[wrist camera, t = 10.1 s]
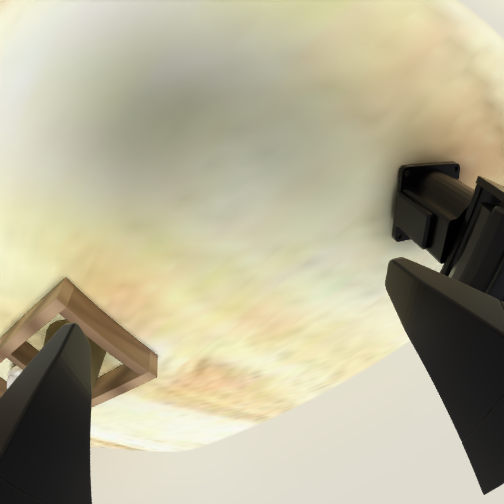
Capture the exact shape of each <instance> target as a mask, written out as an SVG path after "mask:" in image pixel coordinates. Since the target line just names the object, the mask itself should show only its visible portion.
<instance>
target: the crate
mask: <svg viewBox="0 0 504 504" xmlns="http://www.w3.org/2000/svg"><path fill="white" fill-rule="evenodd" d="M59 313H60V314H61V315H62V316H63V317H64V318H65V319H67V320H68V321H69V322H70V323H77V324H78V325H79V326H80V328H81V329H82V331H83V333H84V334H85V335H86V336H87V337H89V338H90V339H91V340H92V341H94V342H95V343H96V344H98V345H99V346H100V347H101V348H103V349H104V350H105V351H107V352H108V353H109V354H111V355H112V356H114V357H115V358H116V359H118V360H119V361H120V362H122V363H123V365H122V366H120V367H118V368H116V369H114V370H112V371H110V372H108V373H107V374H105V375H103V376H101V377H99V378H97V380H96V383H95V386H94V389H93V392H92V403H91V407H94V406H96V405H98V404H101V403H103V402H105V401H107V400H109V399H112V398H114V397H116V396H118V395H120V394H123V393H125V392H127V391H129V390H131V389H133V388H136V387H138V386H140V385H142V384H144V383H146V382H148V381H150V380H152V379H154V378H157V358H158V356H157V355H156V354H155V353H153V352H152V351H151V350H149V349H148V348H147V347H146V346H144V345H143V344H142V343H140V342H139V341H138V340H137V339H135V338H134V337H133V336H132V335H130V334H129V333H128V332H127V331H125V330H124V329H123V328H122V327H121V326H119V325H118V324H117V323H116V322H115V321H113V320H112V319H111V318H110V317H109V316H107V315H106V314H105V313H104V312H103V311H102V310H101V309H99V308H98V307H97V306H96V305H95V304H94V303H93V302H91V301H90V300H89V299H88V298H87V297H86V296H85V295H84V294H83V293H82V292H80V291H79V290H78V289H77V288H76V287H75V286H74V285H73V284H72V283H71V282H70V281H69V280H68V279H67V278H65V279H64V280H63V281H61V282H60V283H59V284H58V285H57V286H56V287H55V288H53V289H52V290H51V291H50V292H49V293H48V294H47V295H46V296H45V297H43V298H42V299H41V300H40V301H39V302H38V303H37V304H36V305H35V306H34V307H33V308H32V309H30V310H29V311H28V312H27V313H26V314H25V315H24V316H23V317H22V318H21V319H20V320H19V321H18V322H17V323H16V324H15V325H14V326H13V327H12V328H11V329H10V330H9V331H8V332H7V333H6V334H5V335H4V336H3V337H2V338H1V339H0V363H1V362H2V361H3V360H4V359H5V358H8V359H9V360H10V361H11V362H13V363H14V364H15V365H17V366H18V367H19V368H21V369H22V370H24V368H25V367H26V366H27V365H28V364H29V363H30V361H31V360H32V359H33V358H34V357H35V356H36V355H37V353H38V352H39V351H37V350H36V349H35V348H33V347H32V346H31V345H30V344H28V343H27V342H26V340H27V339H29V338H30V337H31V336H32V335H33V334H35V333H36V332H37V331H38V330H39V329H41V328H42V327H43V326H44V325H45V324H47V323H48V322H49V321H50V320H51V319H53V318H54V317H55V316H56V315H58V314H59ZM6 390H7V382H6V381H4V380H3V379H2V378H0V398H1V396H2V395H3V394H4V393H5V391H6Z"/></svg>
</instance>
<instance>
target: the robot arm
mask: <svg viewBox="0 0 504 504" xmlns="http://www.w3.org/2000/svg"><path fill="white" fill-rule="evenodd" d="M454 168H455V169H454ZM406 170H407V172H406V174H405V171H406ZM459 171H460V166H459V164H458V163H456V162H443V163H428V164H414V165H404V166H402V167H401V168H400V170H399V180H398V191H397V198H396V208H395V217H394V228H393V239H394V240H395V241H397V242H400V241H404V240H409V239H412V240H413V241H414V242H415V243H416V244H417V245H418V246H419V247H421V248H422V249H423V250H424V249H426V250H427V251H428V252H429V253H430V254H431V255H432V256H433V257H434V258H435V259H436V260H437V261H438V262H439V263H441V264H443V263H444V265H443V267H442V269H441V271H440V273H439V272H436V271H434V270H432V269H429V268H427V267H425V266H422V265H420V264H418V263H415V262H413V261H411V260H408V259H406V258H403V257H399V258H395V259H392V260H390V261H389V263H388V269H387V275H386V281H385V286H386V290H387V292H388V294H389V296H390V299H391V301H392V303H393V305H394V307H395V310H396V312H397V314H398V316H399V319H400V321H401V323H402V325H403V327H404V329H405V331H406V333H407V335H408V337H409V339H410V341H411V342H412V344H413V345H414V348H415V350H416V351H417V353H418V355H419V357H420V358H421V360H422V362H423V364H424V366H425V368H426V370H427V372H428V374H429V375H430V377H431V379H432V381H433V383H434V385H435V387H436V389H437V391H438V393H439V395H440V397H441V399H442V401H443V403H444V405H445V407H446V409H447V411H448V413H449V415H450V417H451V419H452V422H453V424H454V426H455V428H456V430H457V432H458V435H459V437H460V439H461V441H462V444H463V446H464V449H465V451H466V453H467V455H468V458H469V460H470V463H471V465H472V467H473V470H474V472H475V475H476V477H477V479H478V482H479V485H480V487H481V490H482V492H483V494H484V495H485V494H487V493H489V492H490V491H492V490H494V489H495V488H497V487H499V486H500V485H502V484H503V483H504V186H502V185H499V184H497V183H495V182H492V181H490V180H488V179H485V178H483V177H481V176H478V178H477V181H476V183H477V185H476V188H475V190H473V189H472V188H470V187H469V186H467V185H465V184H464V183H462V182H460V181H458V179H459ZM399 234H400V235H399ZM398 235H399V236H398ZM91 403H92V383H91V346H90V343H89V341H88V339H87V338H86V336H85V334H84V333H83V331H82V329H81V328H80V326H79V325H78V324H77V323H67V324H64V325H63V326H62V327H61V328H60V329H59V330H58V331H57V332H56V333H55V334H54V335H53V337H52V338H51V339H50V340H49V341H48V342H47V343H46V344H45V345H44V347H43V348H42V349H41V350H40V351H39V352H38V353H37V355H36V356H35V357H34V358H33V359H32V360H31V361H30V363H29V364H28V365H27V366H26V367H25V368H24V370H23V371H22V372H21V373H20V374H19V376H18V377H17V378H16V379H15V380H14V382H13V383H12V384H11V385H10V386H9V388H8V389H7V390H6V391H5V393H4V394H3V395H2V396H1V398H0V504H92V499H91V478H90V425H91Z"/></svg>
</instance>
